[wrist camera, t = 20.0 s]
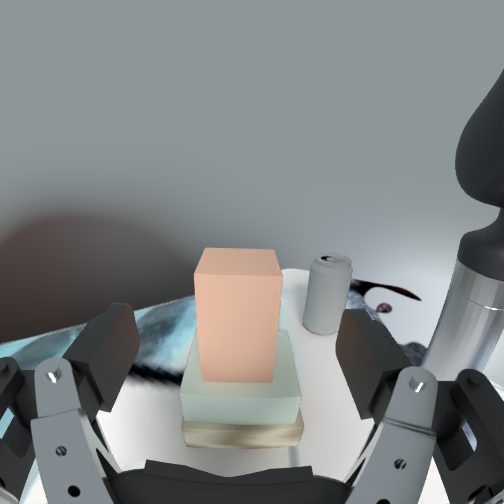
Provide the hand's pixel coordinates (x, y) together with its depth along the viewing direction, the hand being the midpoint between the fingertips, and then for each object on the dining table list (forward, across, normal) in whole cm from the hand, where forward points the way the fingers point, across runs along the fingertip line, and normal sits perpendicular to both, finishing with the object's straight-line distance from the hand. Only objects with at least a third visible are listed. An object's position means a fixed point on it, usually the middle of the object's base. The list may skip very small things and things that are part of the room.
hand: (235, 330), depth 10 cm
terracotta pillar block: (+11, 0, +12) cm, 16 cm away
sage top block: (+12, 0, +16) cm, 20 cm away
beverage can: (+28, -13, +20) cm, 37 cm away
